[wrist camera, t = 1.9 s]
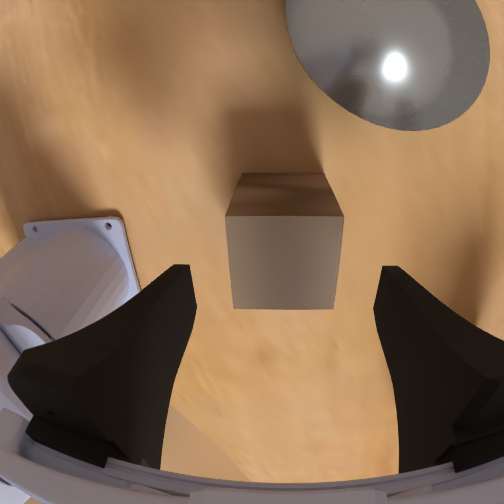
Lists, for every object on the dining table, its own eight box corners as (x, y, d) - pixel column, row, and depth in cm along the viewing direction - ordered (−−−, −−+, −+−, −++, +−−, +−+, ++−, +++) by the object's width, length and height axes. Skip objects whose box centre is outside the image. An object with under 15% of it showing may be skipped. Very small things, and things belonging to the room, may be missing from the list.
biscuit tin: (288, 118, 16) (290, 124, 13) (279, -52, 10) (278, -75, 8) (459, 132, 15) (486, 143, 12) (453, -23, 9) (478, -35, 7)
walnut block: (246, 244, 19) (233, 308, 14) (242, 173, 17) (224, 216, 12) (320, 245, 19) (333, 309, 14) (323, 173, 17) (344, 216, 12)
